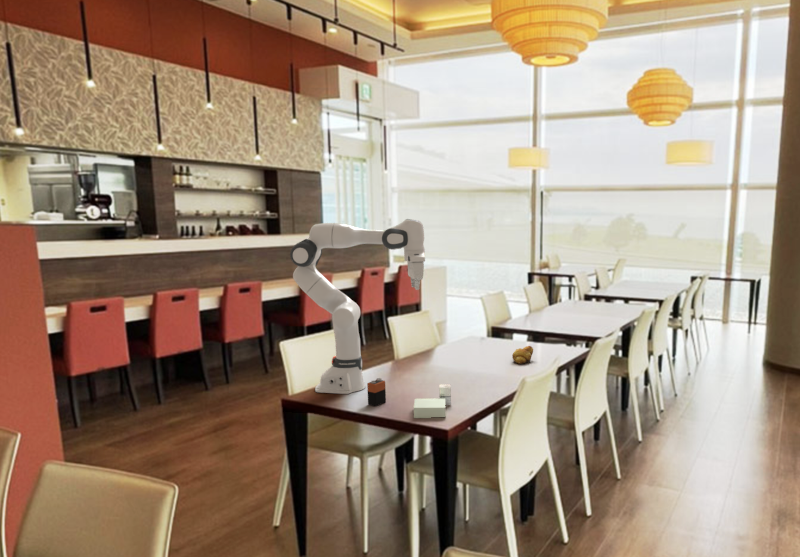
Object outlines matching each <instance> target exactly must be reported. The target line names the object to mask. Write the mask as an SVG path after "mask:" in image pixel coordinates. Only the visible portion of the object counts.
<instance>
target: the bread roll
mask: <svg viewBox="0 0 800 557" xmlns="http://www.w3.org/2000/svg"><path fill="white" fill-rule="evenodd" d="M533 353H534V347H532V346H531V345H527V346H524V347H523V348H516V349H515V350H514V351H513V353H512V360H513V362H515V363H516V364H519V365H521V364H522V365H523V364H525V363H529V362H530V361H532V356H533Z"/></svg>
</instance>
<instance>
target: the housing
mask: <svg viewBox="0 0 800 557" xmlns="http://www.w3.org/2000/svg"><path fill="white" fill-rule="evenodd" d="M451 388H452V387H451V384H450V383H447V384H446V383H445V384H444V383H441V384H440V383H439V388H438V389H439V396H438V397H439V398H445V405H451V406H452V392H451V391H452V389H451Z"/></svg>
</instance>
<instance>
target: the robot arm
mask: <svg viewBox="0 0 800 557" xmlns="http://www.w3.org/2000/svg"><path fill="white" fill-rule="evenodd" d="M424 229H425V228H424V224H423V223H422V222H421V221H420V220H417V219H411V218H406V219H404V220H403V221H401V222H400V223H398V224H397V225H394V226H392V227H389V228H386V229H383V230H382V229H379V230H378V229H365V228H360V227H357V226H353V225H350V224H347V223H339V222H323V223H315V224H314V225H312V226H311V228H310V229H309V236H308V238H305V239H303V240H301V241H299V242H297V243H296V244H294V245H293V247H292V248H291V249H290V254H289V255H290V260H291V262H292V263H293V264H294V265H296V266H297V267H296V268H295V269H294V271H293V274H292V278H293V280H294V282H295V283H296V285H298V287H299V288H300V289H301V290H302V292H304V293H305V294H306V295H307V296H308V297H309V298H310V299H311V300H312V302H314V303H315V304H316V305H317V306H318V307H320V308H322V309H323V310H325V311H327V312H328V313H329V314H331V320H332V328H333V334H334V341H335V342H334V343H335V355H334V356H332V359H331V366H330V367H329V368H328V369H327V370H325V371H324V372H323V373H322V375H321V376H320V379H319V380H320V381H319V383H318V384H316V385H315V387H314V391H315V393H322V394H324V393H325V394H326V393H327V394H338V395H341V394H342V395H348V394H351V393H354V392H355V393H356V392H359V391H361V390H364V389H365V388H366V384H365V381H364V376H363V370H362V369H363V359H362V358H363V357H362V355H361V338H360V333H359V332H360V331H359V323H358V322H359V319H360V317H361V308H360V306H359V305H358V304H357V302H355V301H354V300H352V299H351V298H350V297H349V296H348V295H347V294H345V293H344V292H343V291H341V290H339V289H338V287H336V286H335V285H334V284H333V283H331V281H330V280H328V279H327V277H326V276H324V275H323V273H321V272H320V271H319V270H318V269H317V265H318V263H319V261H320V259H321V257H322V254H323V249H346V248H353V247H355V246H359V245H360V246H361V245H364V244H365V245H383V246H384V247H385V248H386V249H389V250H393V251H395V250H400V249H403V251H404V252H403V255H404V260H403V261H404V262H406V264H407V275H408V277H409V278H410V283H411V284H410V285H411V288H414V289H415V291H419V290H420V284H421V280H423V279H424V271H425V270H424V267H425V266H424V264H425V262H426V257H425V256H426V255H425V252H426V251H425V250H426V249H425V246H424V242H425V230H424Z"/></svg>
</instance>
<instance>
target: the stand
mask: <svg viewBox="0 0 800 557" xmlns="http://www.w3.org/2000/svg"><path fill="white" fill-rule="evenodd" d="M413 402H414V404H413V419H432V418H431V417H447V412H446V411H447V410H446V407H447V406H445V398H440V397H439V398H438V397H437V398H414V401H413Z"/></svg>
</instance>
